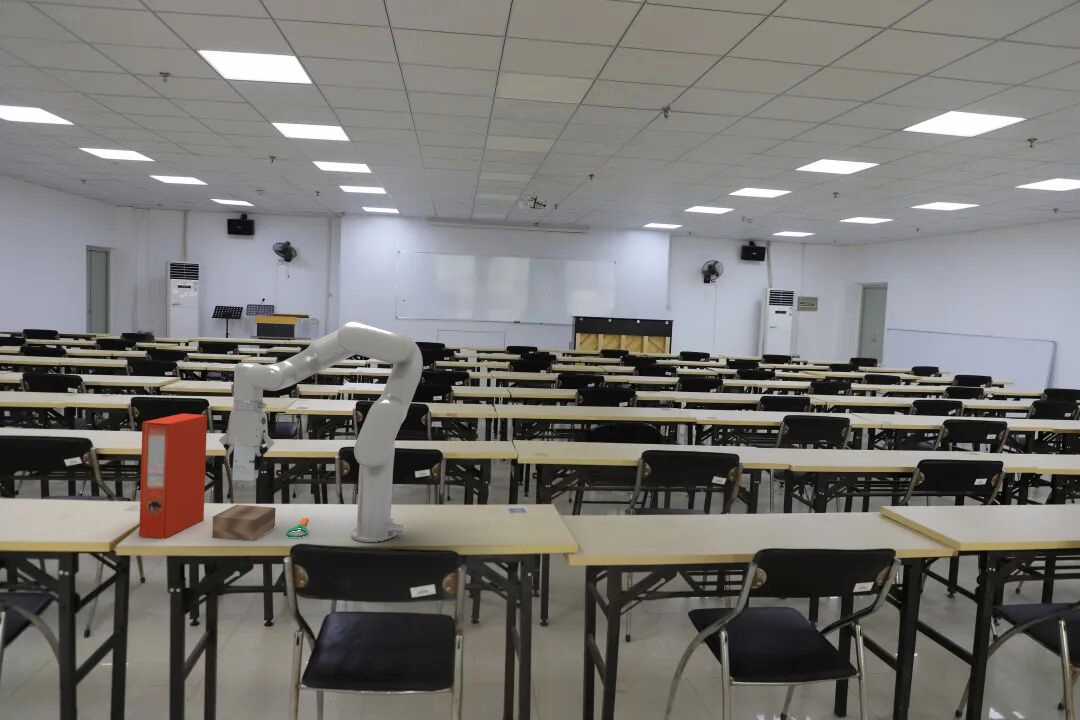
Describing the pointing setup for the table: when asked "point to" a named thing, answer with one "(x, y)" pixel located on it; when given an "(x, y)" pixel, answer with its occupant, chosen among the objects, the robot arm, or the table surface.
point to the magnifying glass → (303, 528)
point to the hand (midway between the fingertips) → (246, 467)
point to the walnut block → (243, 522)
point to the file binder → (172, 474)
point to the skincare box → (244, 462)
